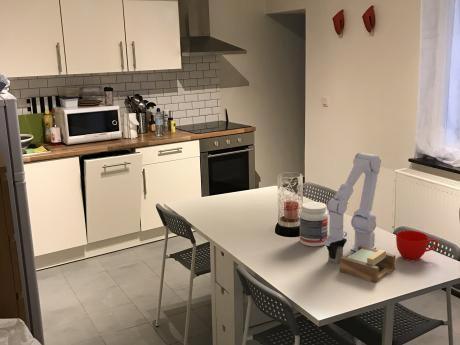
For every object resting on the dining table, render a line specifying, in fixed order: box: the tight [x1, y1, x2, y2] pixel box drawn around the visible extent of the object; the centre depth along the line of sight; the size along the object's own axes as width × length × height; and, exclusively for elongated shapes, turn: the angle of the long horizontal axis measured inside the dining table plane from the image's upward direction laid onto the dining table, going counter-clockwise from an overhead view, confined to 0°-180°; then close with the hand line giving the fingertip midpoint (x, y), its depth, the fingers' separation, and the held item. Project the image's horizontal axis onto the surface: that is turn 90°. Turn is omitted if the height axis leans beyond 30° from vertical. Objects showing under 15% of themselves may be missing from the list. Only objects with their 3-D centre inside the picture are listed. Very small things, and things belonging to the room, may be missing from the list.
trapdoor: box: [346, 249, 387, 266], centre depth 209 cm, size 12×11×3 cm
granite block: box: [327, 246, 344, 264], centre depth 220 cm, size 4×4×6 cm
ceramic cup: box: [395, 230, 439, 262], centre depth 220 cm, size 13×17×10 cm
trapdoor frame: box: [339, 246, 396, 284], centre depth 210 cm, size 17×16×6 cm
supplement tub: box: [299, 201, 329, 247], centre depth 239 cm, size 13×13×18 cm
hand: (335, 256), depth 220 cm, fingers closed on granite block, 4 cm apart
